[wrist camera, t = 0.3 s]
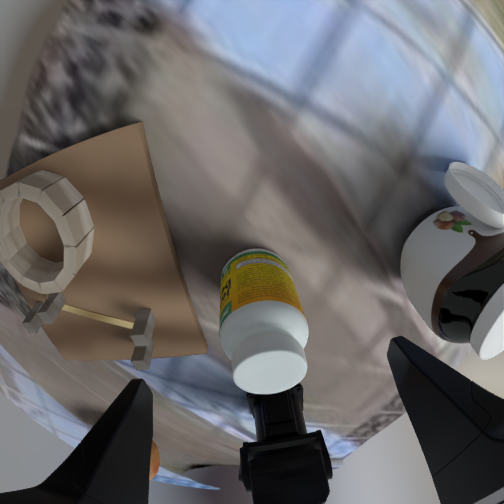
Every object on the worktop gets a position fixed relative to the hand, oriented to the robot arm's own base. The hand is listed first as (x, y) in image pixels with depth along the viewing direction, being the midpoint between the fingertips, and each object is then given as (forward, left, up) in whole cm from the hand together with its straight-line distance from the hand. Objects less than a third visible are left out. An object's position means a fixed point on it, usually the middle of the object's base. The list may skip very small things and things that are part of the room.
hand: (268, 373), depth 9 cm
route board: (-2, +14, -13) cm, 19 cm away
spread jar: (-3, -17, -13) cm, 22 cm away
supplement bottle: (-5, 0, -13) cm, 14 cm away
